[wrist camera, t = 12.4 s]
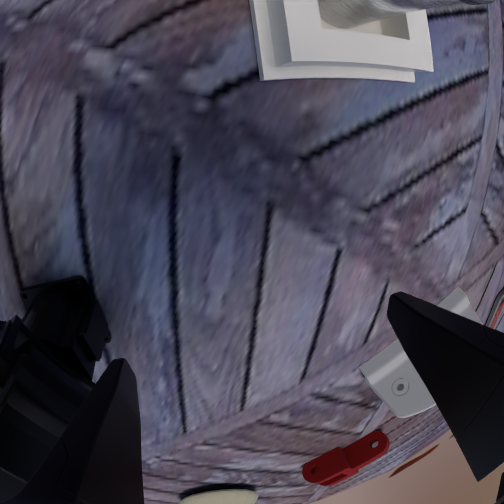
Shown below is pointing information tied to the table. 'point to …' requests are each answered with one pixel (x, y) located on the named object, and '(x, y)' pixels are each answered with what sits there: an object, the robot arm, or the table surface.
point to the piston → (376, 9)
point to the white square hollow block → (337, 44)
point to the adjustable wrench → (496, 311)
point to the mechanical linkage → (345, 460)
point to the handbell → (222, 497)
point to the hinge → (408, 368)
